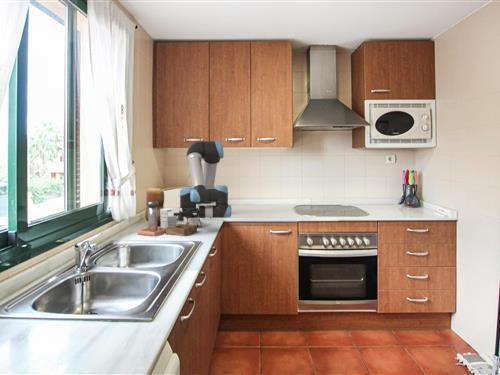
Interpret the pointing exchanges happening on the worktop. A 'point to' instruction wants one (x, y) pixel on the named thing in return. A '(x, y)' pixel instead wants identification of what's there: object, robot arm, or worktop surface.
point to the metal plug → (152, 215)
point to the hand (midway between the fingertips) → (169, 212)
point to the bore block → (181, 229)
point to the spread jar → (193, 220)
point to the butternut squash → (155, 195)
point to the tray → (148, 233)
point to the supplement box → (167, 218)
